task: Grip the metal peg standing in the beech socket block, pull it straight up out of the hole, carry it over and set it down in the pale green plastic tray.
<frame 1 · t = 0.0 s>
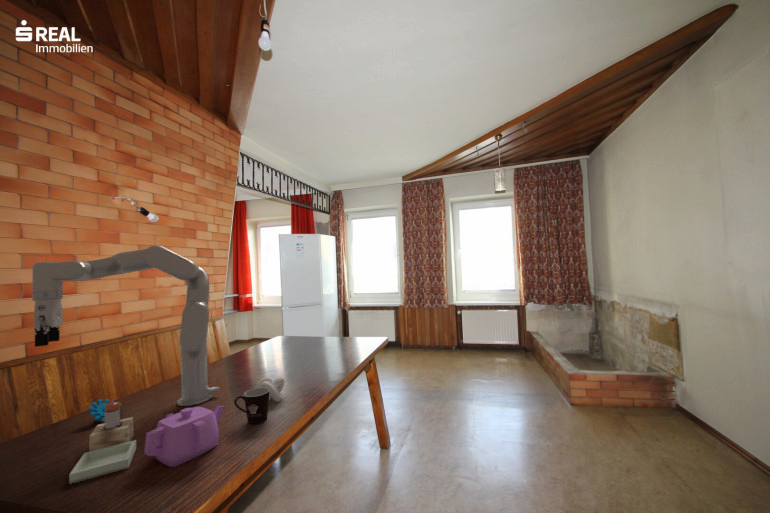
hand: (47, 343, 113), 31 cm above the table, fingers open, 9 cm apart
socket block: (112, 445, 100), on the table
tray: (105, 464, 89), on the table
gear: (106, 420, 120), on the table
coffee mug: (254, 420, 113), on the table
metal peg: (112, 424, 100), in the socket block
teakettle: (188, 450, 95), on the table
grey torus knot: (272, 400, 130), on the table
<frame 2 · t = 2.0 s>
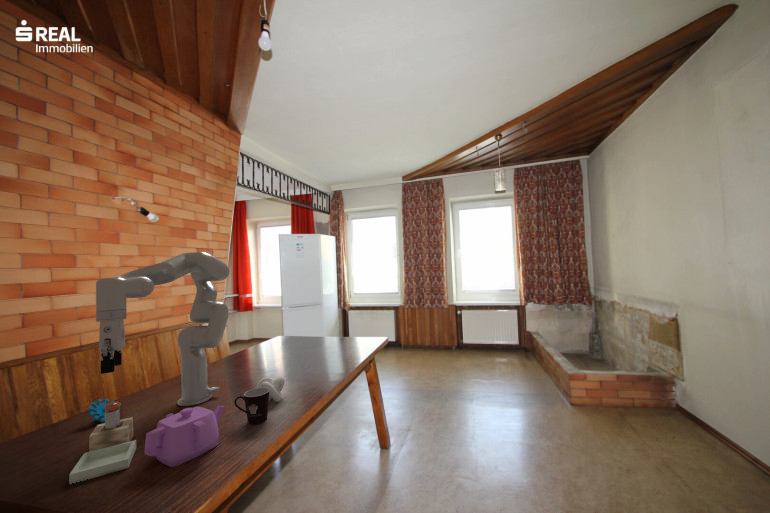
hand: (111, 369, 101), 24 cm above the table, fingers open, 9 cm apart
nothing on the table moved.
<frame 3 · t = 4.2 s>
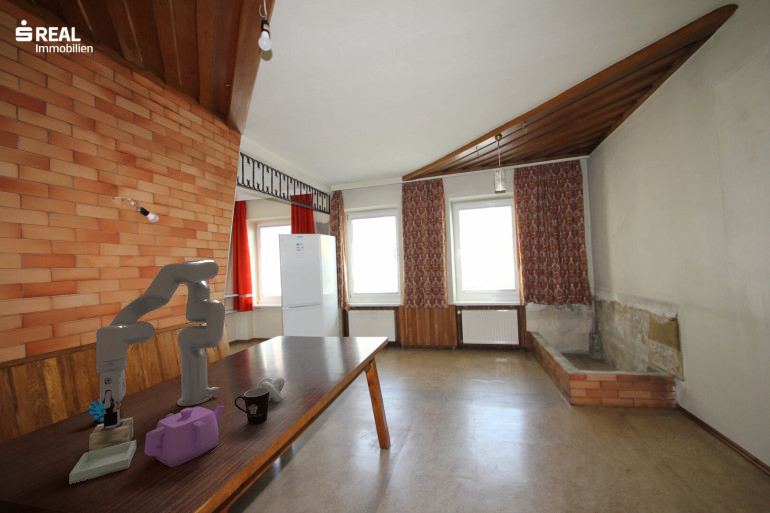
hand: (112, 422, 100), 7 cm above the table, fingers closed on metal peg, 3 cm apart
metal peg: (112, 424, 100), in the socket block, touching gripper
everything else where it was.
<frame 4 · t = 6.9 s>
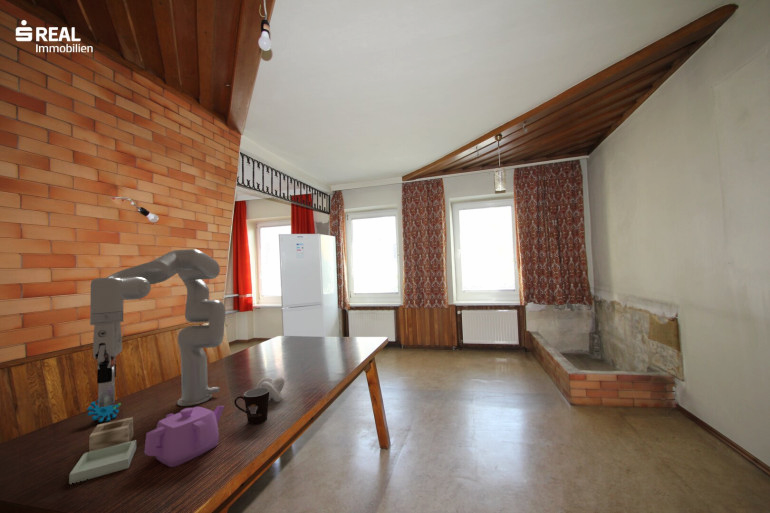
hand: (106, 379, 93), 23 cm above the table, fingers closed on metal peg, 3 cm apart
metal peg: (106, 382, 93), point 22 cm above the table, touching gripper
everything else where it was.
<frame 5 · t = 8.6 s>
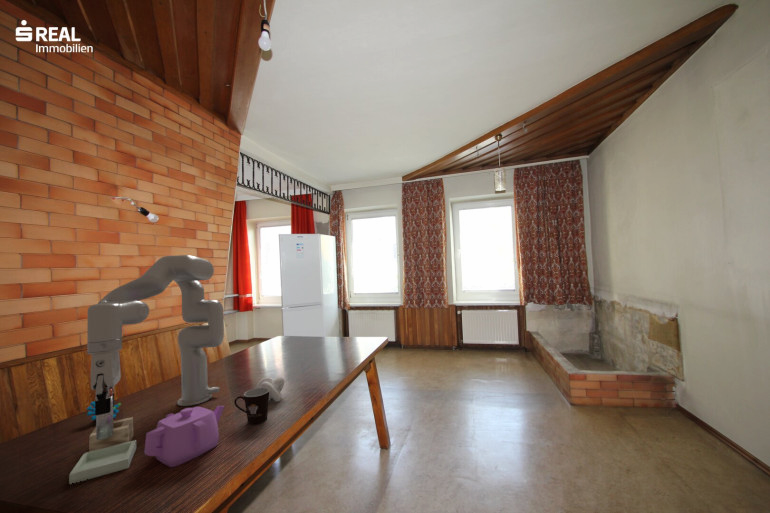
hand: (105, 410, 90), 15 cm above the table, fingers closed on metal peg, 3 cm apart
metal peg: (104, 413, 90), point 14 cm above the table, touching gripper
everything else where it was.
when the fingers open (9 cm above the table, at t = 10.0 s): metal peg drops 1 cm, resting on tray.
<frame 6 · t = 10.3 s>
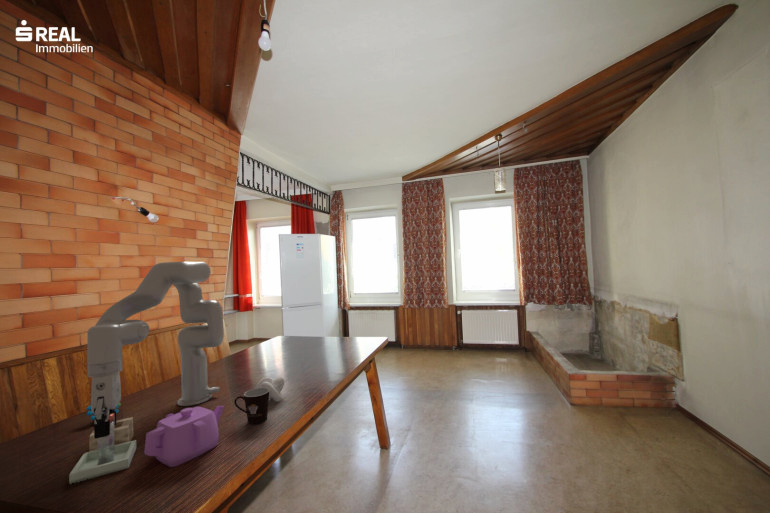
hand: (105, 430, 90), 9 cm above the table, fingers open, 6 cm apart
metal peg: (106, 438, 90), in the tray, point 7 cm above the table
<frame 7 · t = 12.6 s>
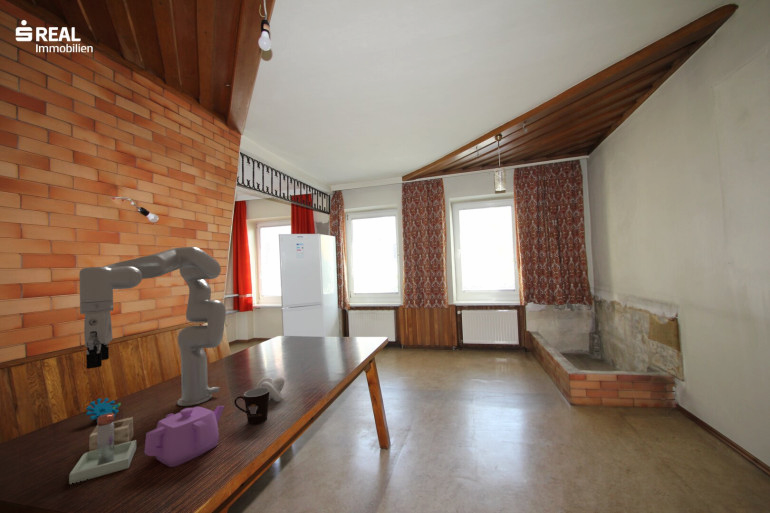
hand: (98, 363, 95), 27 cm above the table, fingers open, 9 cm apart
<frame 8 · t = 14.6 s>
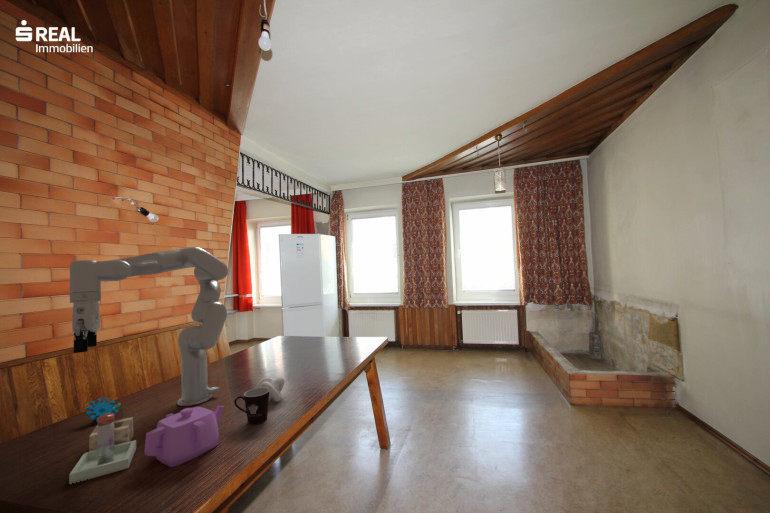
hand: (85, 349, 103), 30 cm above the table, fingers open, 9 cm apart
at the end: metal peg inside the target area on the tray (0.1 cm from its centre), point 7.1 cm above the tray's base; the gripper is holding nothing; metal peg touching tray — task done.
